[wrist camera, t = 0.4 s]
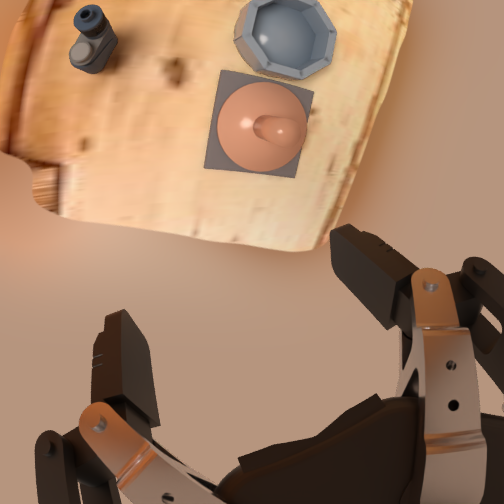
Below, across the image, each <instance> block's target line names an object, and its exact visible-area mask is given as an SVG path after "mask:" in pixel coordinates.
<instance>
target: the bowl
mask: <svg viewBox="0 0 504 504" xmlns="http://www.w3.org/2000/svg"><path fill="white" fill-rule="evenodd" d="M336 35H337V32H336V29H335V27H334V26H333V24H332V22H331V21H330V19H329V17H328V16H327V14H326V12H325V11H324V9H323V8H322V6H321V5H320V3H319V2H318V1H316V0H252V1H250V2H249V3H248V4H246V5H245V6H244V7H243V8H242V9H241V10H240V14H239V18H238V20H237V22H236V25H235V30H234V40H233V41H234V43H235V45H236V47H237V50H238V52H239V54H240V55H241V57H242V58H243V59H244V61H245V62H246V63H247V64H248V65H249V66H251V67H252V69H253V70H254V71H255V72H258V73H262V74H264V75H267V76H271V77H279V78H283V79H286V80H301V79H304V78H306V77H308V76H309V75H311V74H313V73H315V72H316V71H318V70H320V69H322V68H323V67H325V66H327V65H329V64H330V63H331V61H332V56H333V51H334V45H335V40H336Z"/></svg>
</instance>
